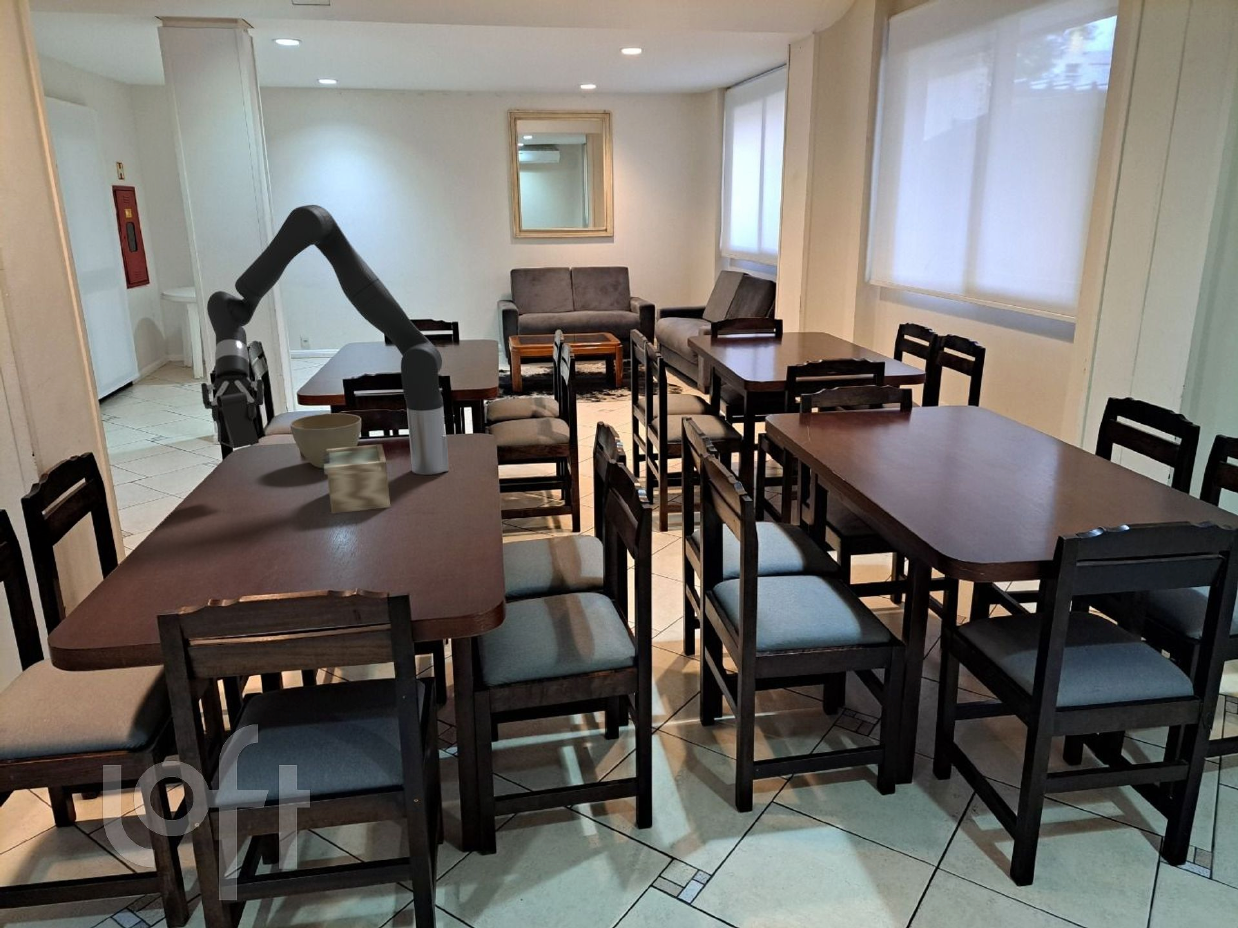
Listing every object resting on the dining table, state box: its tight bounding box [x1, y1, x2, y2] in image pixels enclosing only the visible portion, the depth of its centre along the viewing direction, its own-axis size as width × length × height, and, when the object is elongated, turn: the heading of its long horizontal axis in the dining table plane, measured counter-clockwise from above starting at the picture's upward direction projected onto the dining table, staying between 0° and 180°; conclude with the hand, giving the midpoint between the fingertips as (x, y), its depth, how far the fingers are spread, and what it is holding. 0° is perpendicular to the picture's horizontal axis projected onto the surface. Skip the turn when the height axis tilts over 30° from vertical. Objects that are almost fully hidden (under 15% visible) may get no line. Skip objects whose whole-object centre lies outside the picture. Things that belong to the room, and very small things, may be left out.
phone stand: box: [217, 392, 260, 449], centre depth 204 cm, size 9×6×12 cm, turn 48°
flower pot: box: [289, 413, 362, 469], centre depth 231 cm, size 18×18×12 cm
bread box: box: [323, 443, 391, 514], centre depth 203 cm, size 14×16×12 cm
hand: (234, 420), depth 202 cm, fingers closed on phone stand, 6 cm apart
